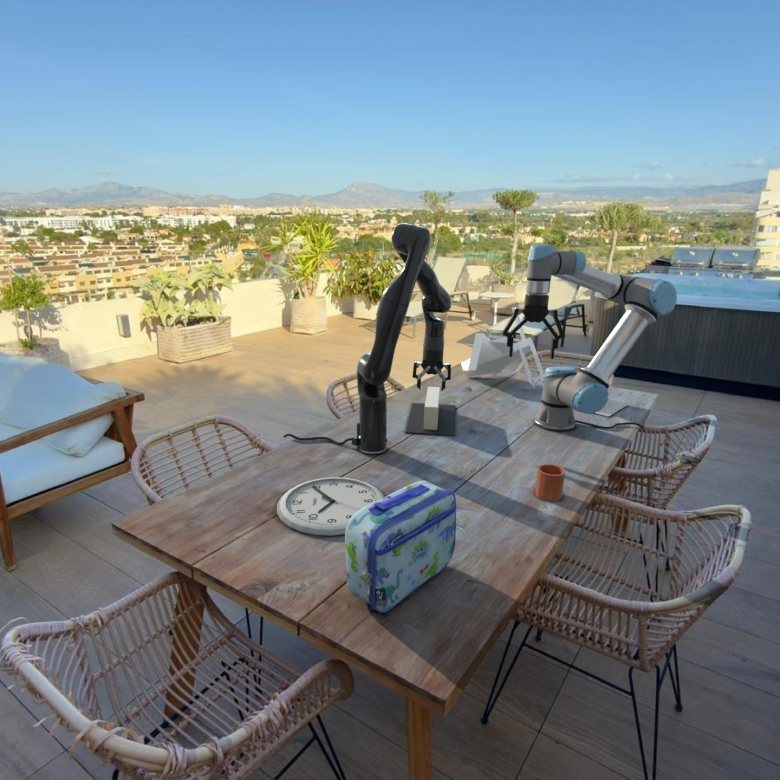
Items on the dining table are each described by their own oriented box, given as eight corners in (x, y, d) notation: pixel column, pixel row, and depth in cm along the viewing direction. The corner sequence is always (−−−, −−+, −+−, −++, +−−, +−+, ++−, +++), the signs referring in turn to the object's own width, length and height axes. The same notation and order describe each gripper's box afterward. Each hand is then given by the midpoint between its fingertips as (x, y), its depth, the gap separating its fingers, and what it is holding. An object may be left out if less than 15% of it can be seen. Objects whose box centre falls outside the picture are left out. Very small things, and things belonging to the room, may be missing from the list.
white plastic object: (482, 418, 267) (461, 395, 242) (463, 346, 289) (443, 318, 265) (552, 394, 255) (538, 367, 230) (527, 321, 277) (512, 289, 252)
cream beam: (439, 407, 221) (440, 387, 218) (437, 430, 196) (438, 407, 193) (427, 406, 221) (428, 386, 219) (423, 429, 197) (424, 406, 194)
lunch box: (374, 626, 100) (375, 530, 93) (338, 598, 107) (337, 508, 101) (459, 568, 117) (465, 484, 111) (424, 547, 124) (427, 467, 118)
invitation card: (608, 416, 214) (573, 407, 224) (608, 416, 214) (573, 407, 224) (627, 404, 229) (594, 396, 238) (627, 405, 229) (594, 397, 239)
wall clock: (392, 527, 129) (269, 531, 127) (392, 533, 130) (269, 537, 127) (383, 473, 158) (282, 475, 155) (383, 478, 158) (283, 480, 156)
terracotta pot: (559, 489, 154) (562, 464, 151) (564, 502, 147) (567, 476, 144) (533, 487, 154) (536, 463, 152) (537, 500, 147) (540, 474, 145)
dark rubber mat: (454, 406, 224) (454, 405, 224) (454, 436, 192) (454, 435, 192) (412, 403, 226) (412, 402, 226) (405, 433, 194) (405, 432, 194)
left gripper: (452, 346, 195) (449, 387, 200) (414, 344, 196) (412, 385, 201) (453, 350, 188) (449, 393, 193) (413, 348, 189) (411, 391, 194)
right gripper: (574, 293, 172) (566, 356, 179) (497, 291, 175) (492, 352, 181) (579, 296, 165) (571, 361, 172) (499, 293, 168) (494, 358, 174)
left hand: (430, 389), depth 197 cm, fingers open, 8 cm apart
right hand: (530, 357), depth 176 cm, fingers open, 13 cm apart
